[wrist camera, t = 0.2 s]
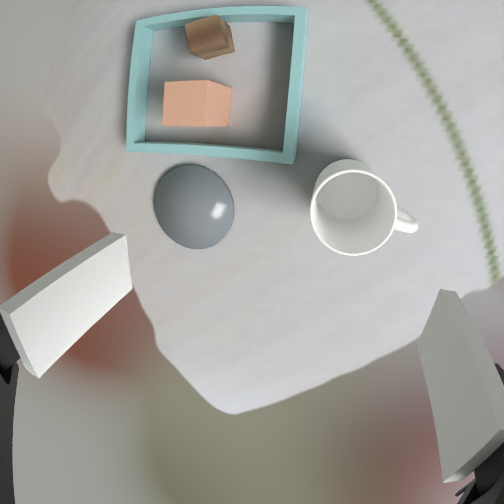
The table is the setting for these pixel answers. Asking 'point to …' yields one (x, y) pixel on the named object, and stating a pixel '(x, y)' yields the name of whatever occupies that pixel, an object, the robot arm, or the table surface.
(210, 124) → the painted box
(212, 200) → the grey dome puck
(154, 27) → the corral
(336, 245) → the cup
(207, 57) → the walnut block
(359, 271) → the table surface
